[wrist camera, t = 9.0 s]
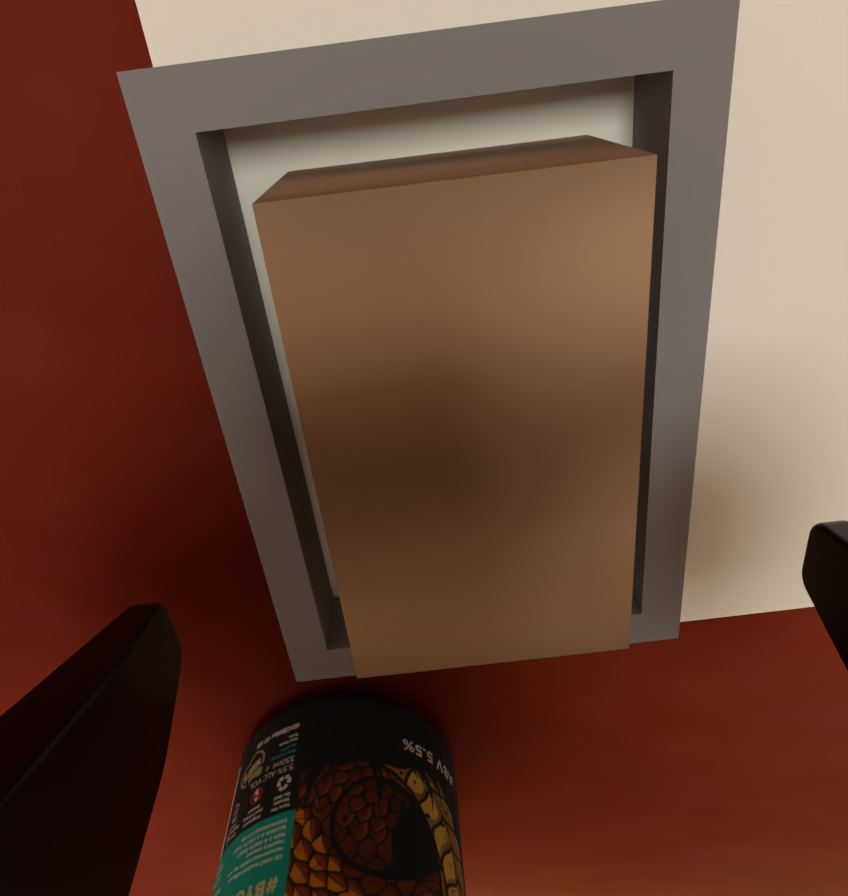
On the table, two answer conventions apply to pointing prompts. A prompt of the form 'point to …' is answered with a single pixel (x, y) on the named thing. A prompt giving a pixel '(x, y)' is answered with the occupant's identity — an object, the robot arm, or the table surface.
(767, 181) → the mat
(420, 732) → the beverage can
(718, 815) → the table surface
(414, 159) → the card box
